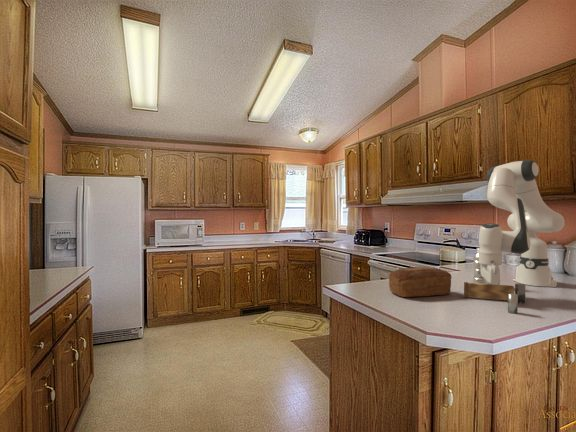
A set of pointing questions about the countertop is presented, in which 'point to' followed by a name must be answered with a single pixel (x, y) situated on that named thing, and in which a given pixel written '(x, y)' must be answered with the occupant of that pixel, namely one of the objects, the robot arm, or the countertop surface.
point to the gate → (487, 291)
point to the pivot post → (520, 292)
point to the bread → (420, 282)
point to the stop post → (512, 303)
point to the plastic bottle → (477, 270)
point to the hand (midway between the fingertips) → (489, 290)
